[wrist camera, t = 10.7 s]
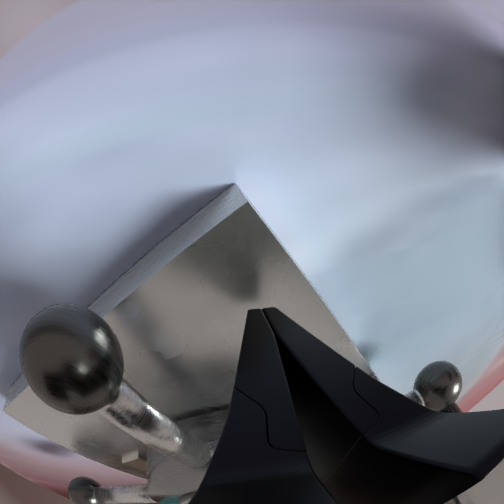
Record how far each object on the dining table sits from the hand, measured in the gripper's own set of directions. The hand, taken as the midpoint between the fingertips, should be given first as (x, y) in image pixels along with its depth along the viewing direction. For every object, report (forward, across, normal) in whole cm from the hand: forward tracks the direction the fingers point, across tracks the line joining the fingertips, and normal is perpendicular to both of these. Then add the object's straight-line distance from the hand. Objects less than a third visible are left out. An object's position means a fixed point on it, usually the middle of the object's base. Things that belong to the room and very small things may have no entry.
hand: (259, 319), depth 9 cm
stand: (+3, 0, +12) cm, 12 cm away
